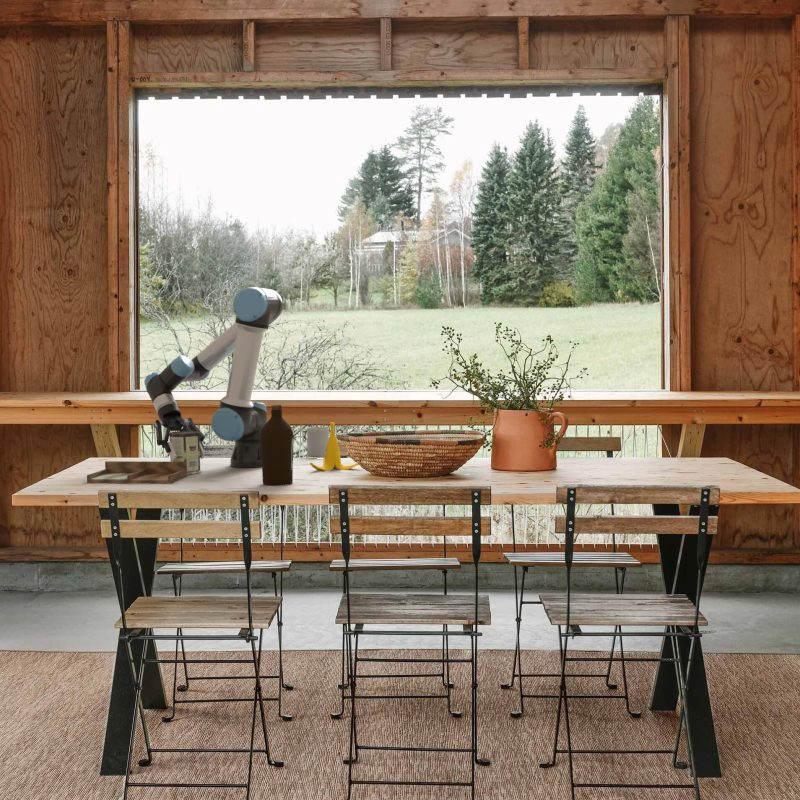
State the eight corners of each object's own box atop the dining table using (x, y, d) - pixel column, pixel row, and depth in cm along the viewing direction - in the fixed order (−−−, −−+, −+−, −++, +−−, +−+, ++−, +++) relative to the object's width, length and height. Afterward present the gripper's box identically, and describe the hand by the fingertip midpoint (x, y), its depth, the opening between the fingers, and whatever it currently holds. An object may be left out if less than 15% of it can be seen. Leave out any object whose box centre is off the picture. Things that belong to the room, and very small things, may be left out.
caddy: (187, 476, 330) (186, 461, 330) (171, 483, 314) (171, 467, 314) (106, 475, 333) (106, 461, 332) (87, 482, 317) (86, 467, 316)
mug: (323, 457, 379) (323, 429, 378) (303, 457, 382) (303, 428, 381) (336, 454, 390) (335, 426, 390) (316, 453, 393) (316, 426, 392)
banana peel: (309, 472, 338) (308, 424, 337) (324, 465, 357) (323, 419, 356) (355, 473, 335) (355, 424, 334) (368, 466, 354) (368, 420, 352)
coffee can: (180, 470, 346) (179, 430, 345) (206, 471, 342) (205, 431, 341) (164, 474, 336) (163, 433, 335) (190, 475, 333) (189, 433, 332)
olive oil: (264, 487, 305) (263, 406, 303) (257, 482, 315) (256, 404, 313) (298, 485, 308) (296, 405, 307) (290, 480, 318) (288, 403, 317)
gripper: (192, 414, 357) (214, 461, 346) (134, 418, 343) (155, 467, 331) (199, 401, 353) (222, 448, 341) (140, 404, 338) (161, 453, 327)
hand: (189, 457), depth 336 cm, fingers closed on coffee can, 10 cm apart
